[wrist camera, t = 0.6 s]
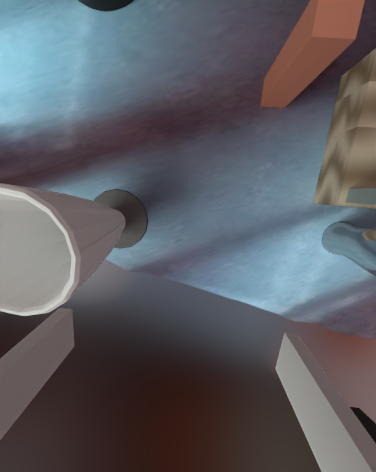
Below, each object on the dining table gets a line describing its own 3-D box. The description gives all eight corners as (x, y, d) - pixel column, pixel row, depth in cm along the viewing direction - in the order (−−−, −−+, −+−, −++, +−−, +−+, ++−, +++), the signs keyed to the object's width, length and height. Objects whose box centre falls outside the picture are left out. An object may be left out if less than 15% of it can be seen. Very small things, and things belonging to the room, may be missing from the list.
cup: (86, 188, 35) (-80, 181, 14) (146, 189, 35) (70, 183, 14) (92, 247, 38) (-40, 315, 16) (148, 249, 37) (86, 321, 16)
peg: (264, 78, 30) (321, -19, 16) (289, 79, 30) (368, -17, 16) (260, 106, 31) (311, 36, 17) (284, 107, 31) (355, 39, 17)
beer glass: (323, 260, 36) (410, 306, 22) (314, 228, 35) (400, 253, 20) (360, 247, 35) (477, 285, 21) (352, 213, 34) (470, 229, 19)
